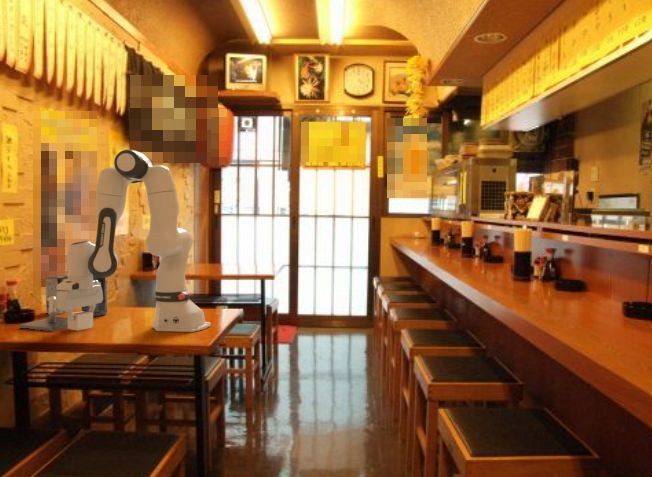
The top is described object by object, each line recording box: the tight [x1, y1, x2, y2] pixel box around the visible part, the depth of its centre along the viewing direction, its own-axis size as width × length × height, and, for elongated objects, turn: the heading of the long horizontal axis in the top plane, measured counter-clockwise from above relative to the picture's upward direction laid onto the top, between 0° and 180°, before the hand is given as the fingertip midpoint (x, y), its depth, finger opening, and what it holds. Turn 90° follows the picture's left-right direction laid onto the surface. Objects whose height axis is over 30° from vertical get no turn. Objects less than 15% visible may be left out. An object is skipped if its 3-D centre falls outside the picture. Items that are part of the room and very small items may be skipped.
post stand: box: [19, 297, 68, 333], centre depth 197 cm, size 16×16×12 cm
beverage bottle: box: [81, 275, 108, 318], centre depth 217 cm, size 10×13×25 cm
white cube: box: [67, 310, 94, 332], centre depth 193 cm, size 6×6×6 cm
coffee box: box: [45, 275, 68, 315], centre depth 224 cm, size 9×6×16 cm
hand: (81, 318), depth 193 cm, fingers open, 8 cm apart
